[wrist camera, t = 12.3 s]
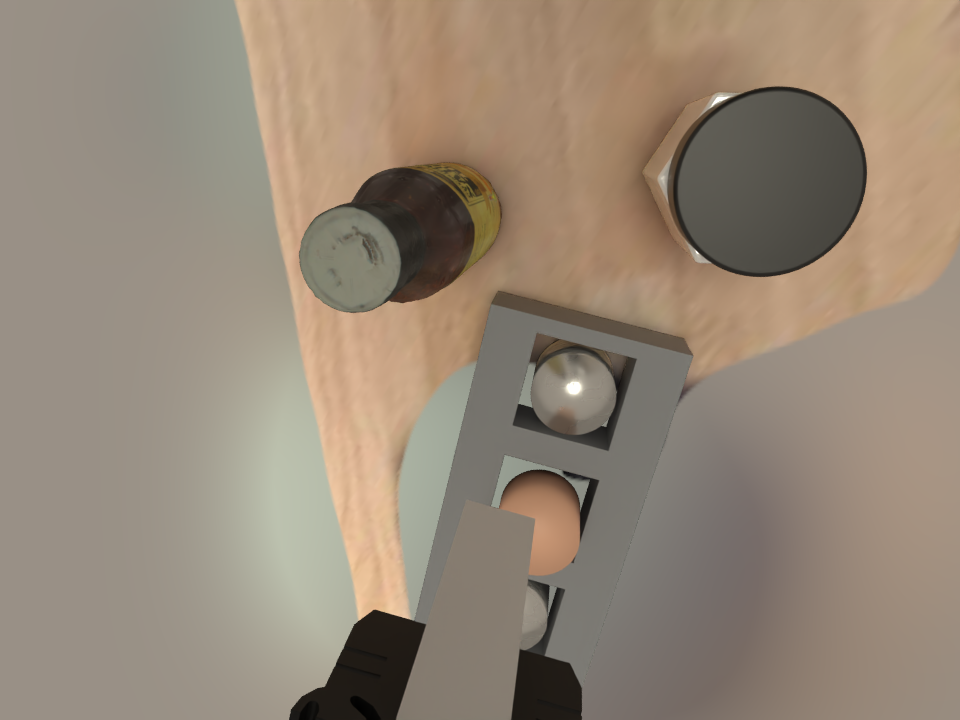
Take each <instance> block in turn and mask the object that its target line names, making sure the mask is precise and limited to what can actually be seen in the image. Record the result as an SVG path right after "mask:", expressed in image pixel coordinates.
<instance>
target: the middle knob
mask: <svg viewBox="0 0 960 720" xmlns="http://www.w3.org/2000/svg"><path fill="white" fill-rule="evenodd" d="M499 509H502V510H506V511H510V512H513V513H517V514H521V515H524V516H528V517H532V518H535V525H534V534H533V542H532V550H531V558H530V567H529V575H535V576H544V575H550V574H553V573H556V572H558V571H560V570H562V569H564V568H565V567H566V566H568V565H569V564H570V563H571V562H572V560H573V559H574V557H575V556H576V554H577V551H578V549H579V544H580V502H579V498H578V495H577V493H576V491H575V489H574V487H573V486H572V485H571V484H570V483H569V482H568V481H567V480H566V479H565V478H564V477H562V476H560V475H558V474H556V473H554V472H551V471H547V470H530V471H526V472H523V473H521V474H519V475H517V476H516V477H515V478H513V479H512V480H511V481H510V482H509V483H508V484H507V486H506V487H505V489H504V491H503V494H502V497H501V502H500V506H499Z"/></svg>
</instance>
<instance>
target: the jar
mask: <svg viewBox="0 0 960 720" xmlns="http://www.w3.org/2000/svg"><path fill="white" fill-rule="evenodd" d="M643 176H644V178H645V180H646V182H647V184H648V186H649V189H650V191H651V193H652V195H653V197H654V199H655V201H656V204H657V206H658V208H659V210H660V212H661V214H662V216H663V219H664V221H665V223H666V225H667V227H668V229H669V231H670V233H671V236H672V238H673V239H674V240H675V241H676V242H677V243H678V244H679V245H680V246H681V247H682V248H683V249H684V250H685V251H686V252H687V253H688V254H689V255H690V256H691V257H692V258H693V259H694V260H695V261H696V262H697V263H708V264H714V265H716V266H718V267H720V268H722V269H724V270H726V271H729V272H732V273H735V274H739V275H744V276H753V277H768V276H776V275H782V274H786V273H790V272H793V271H796V270H799V269H801V268H803V267H805V266H807V265H809V264H811V263H813V262H815V261H816V260H818V259H819V258H821V257H822V256H824V255H825V254H826V253H827V252H829V251H830V250H831V249H832V248H833V247H834V246H835V245H836V244H837V243H838V242H839V241H840V240H841V239H842V238H843V236H844V235H845V234H846V232H847V231H848V230H849V228H850V227H851V225H852V223H853V222H854V220H855V218H856V216H857V214H858V212H859V209H860V207H861V204H862V201H863V197H864V193H865V188H866V180H867V164H866V157H865V152H864V148H863V145H862V142H861V140H860V137H859V135H858V133H857V131H856V129H855V127H854V126H853V124H852V123H851V121H850V120H849V119H848V118H847V117H846V115H845V114H844V113H843V112H842V111H841V110H840V109H839V108H838V107H836V106H835V105H834V104H832V103H831V102H830V101H828V100H826V99H825V98H823V97H821V96H819V95H817V94H815V93H812V92H809V91H806V90H803V89H799V88H793V87H779V86H776V87H765V88H759V89H754V90H751V91H747V92H744V93H728V92H717V93H715V94H712V95H709V96H707V97H704V98H702V99H699V100H696V101H694V102H691V103H689V104H687V105H686V107H685V108H684V110H683V111H682V113H681V114H680V116H679V117H678V119H677V120H676V122H675V123H674V125H673V126H672V128H671V129H670V131H669V132H668V134H667V135H666V137H665V138H664V140H663V141H662V143H661V144H660V145H659V147H658V148H657V150H656V151H655V153H654V154H653V156H652V157H651V159H650V160H649V162H648V163H647V165H646V166H645V168H644V169H643Z"/></svg>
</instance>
